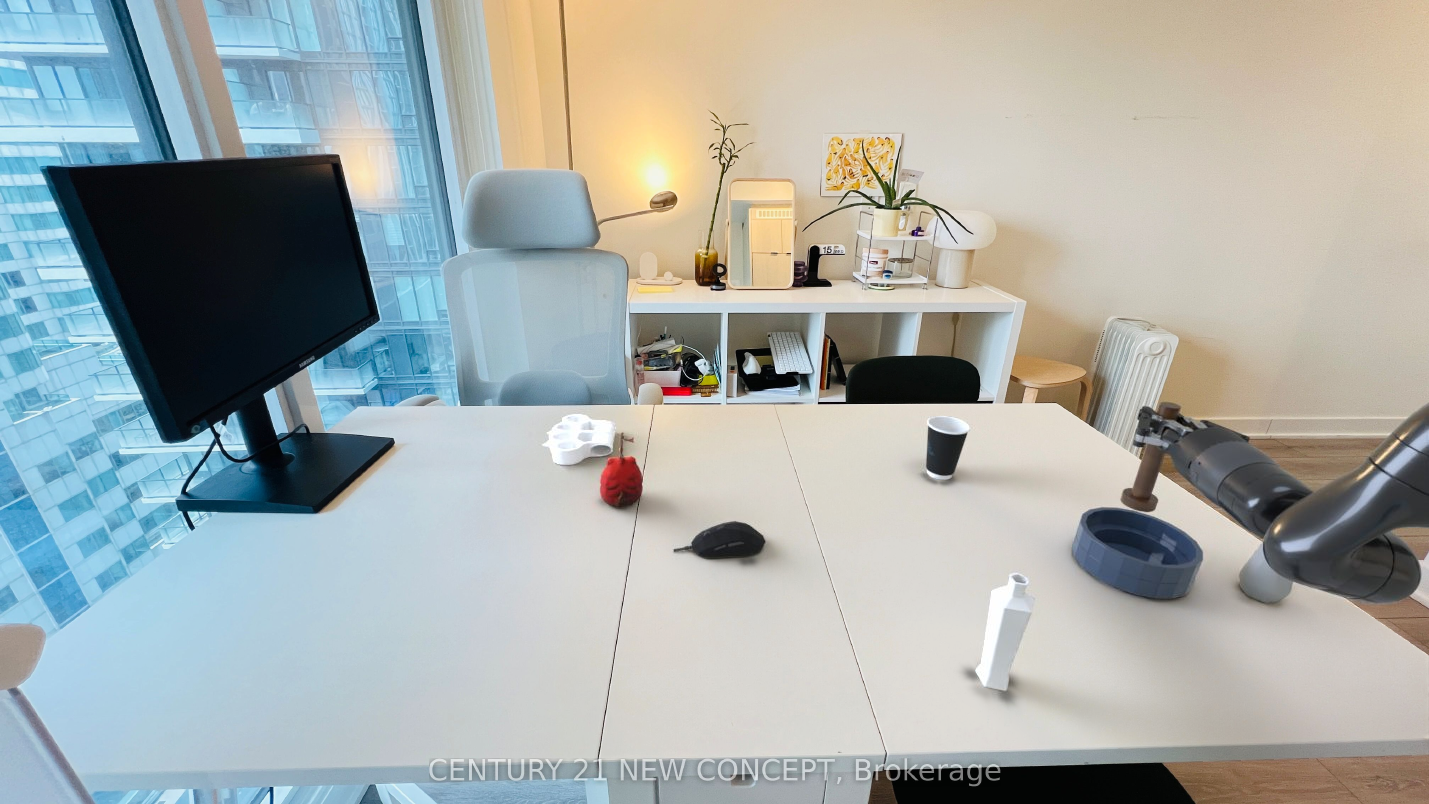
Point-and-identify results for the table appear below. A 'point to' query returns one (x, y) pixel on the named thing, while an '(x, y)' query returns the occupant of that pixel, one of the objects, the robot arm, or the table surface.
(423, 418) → the table surface
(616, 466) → the red clay folk toy
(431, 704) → the table surface
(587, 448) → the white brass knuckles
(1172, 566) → the bowl
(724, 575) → the table surface
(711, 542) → the gaming mouse
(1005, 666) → the perfume bottle
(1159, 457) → the pestle
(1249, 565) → the salt shaker
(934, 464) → the dixie cup
